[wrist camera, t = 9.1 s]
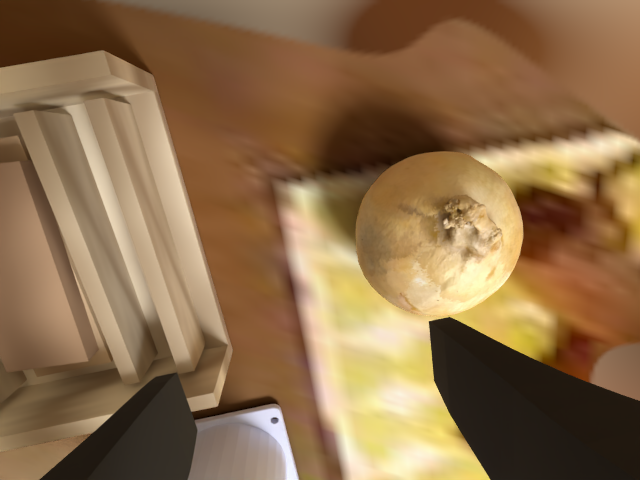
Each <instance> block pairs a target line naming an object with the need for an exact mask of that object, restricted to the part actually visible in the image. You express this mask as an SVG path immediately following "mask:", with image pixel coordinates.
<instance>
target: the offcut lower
mask: <svg viewBox="0 0 640 480" xmlns="http://www.w3.org/2000/svg"><path fill="white" fill-rule="evenodd" d="M30 160H32V159H31V156H30V154H29V152H28V149H27V147H26V144H25V142H24V139H23V137H22V136H21V135H17V136H11V137H6V138H0V163H7V162H17V161H30ZM54 216H55V215H54ZM55 219H56V217H55ZM56 222H57V220H56ZM57 225H58V222H57ZM58 228H59V231H60V234H61V237H62V240H63V243H64V246H65V249H66V252H67V255H68V258H69V261H70V264H71V267H72V270H73V273H74V276H75V279H76V282H77V285H78V288H79V291H80V294H81V297H82V300H83V303H84V306H85V309H86V312H87V315H88V318H89V321H90V324H91V327H92V330H93V333H94V336H95V339H96V342H97V345H98V348H99V350H98V351H97V352H96V354H95V355H94V356H93V357H92V358H91V359H90V360H89V361H86V362H79V363H72V364H65V365H58V366H50V367H43V368H36V369H33V370H34V372H35V374H36V376H37V377H40V376H45V375H50V374H55V373H60V372H65V371H70V370H75V369H80V368H84V367H89V366H94V365H99V364H104V363H109V362H112V360H113V357H112V354H111V352H110V349H109V347H108V344H107V342H106V340H105V337H104V335H103V332H102V330H101V327H100V325H99V322H98V320H97V318H96V315H95V313H94V310H93V308H92V305H91V303H90V300H89V298H88V296H87V293H86V291H85V288H84V286H83V283H82V281H81V279H80V276H79V274H78V271H77V269H76V266H75V264H74V261H73V259H72V257H71V254H70V252H69V249H68V247H67V244H66V242H65V239H64V237H63V235H62V232H61V230H60V227H59V225H58Z"/></svg>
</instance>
